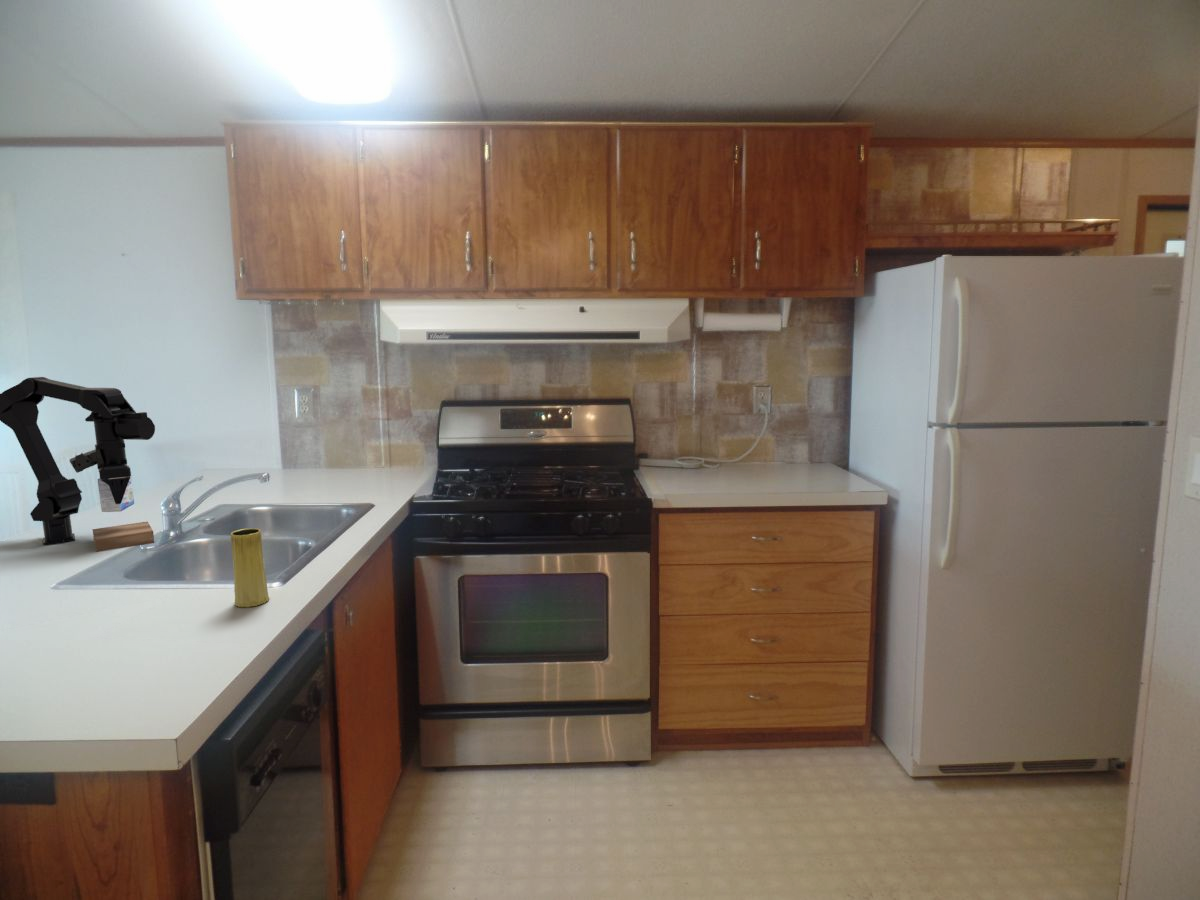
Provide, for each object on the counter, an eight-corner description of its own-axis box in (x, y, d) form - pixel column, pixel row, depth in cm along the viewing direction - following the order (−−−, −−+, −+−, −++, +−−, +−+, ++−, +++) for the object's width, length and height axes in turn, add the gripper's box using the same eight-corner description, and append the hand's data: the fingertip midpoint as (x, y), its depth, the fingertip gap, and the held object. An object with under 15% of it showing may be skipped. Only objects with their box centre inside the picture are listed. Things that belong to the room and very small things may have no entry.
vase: (275, 596, 141) (269, 527, 138) (257, 608, 135) (251, 536, 132) (246, 595, 141) (240, 527, 139) (227, 607, 135) (220, 535, 133)
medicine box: (121, 511, 174) (117, 477, 173) (100, 512, 173) (96, 478, 172) (135, 504, 182) (131, 471, 180) (115, 504, 181) (111, 471, 179)
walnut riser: (93, 540, 181) (92, 529, 180) (148, 532, 188) (147, 521, 187) (96, 551, 171) (95, 539, 171) (154, 542, 178) (153, 531, 178)
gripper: (69, 437, 177) (77, 498, 180) (69, 447, 163) (78, 512, 165) (122, 434, 184) (129, 492, 186) (127, 442, 169) (134, 505, 172)
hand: (117, 500), depth 177 cm, fingers closed on medicine box, 9 cm apart
